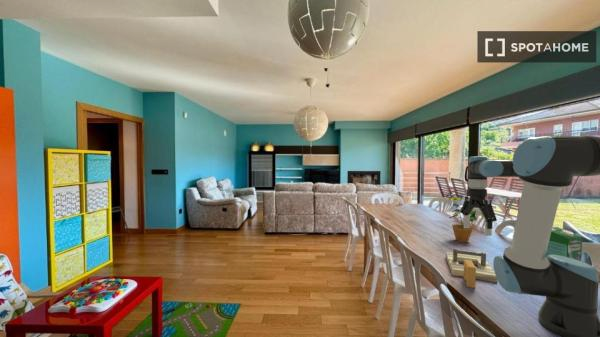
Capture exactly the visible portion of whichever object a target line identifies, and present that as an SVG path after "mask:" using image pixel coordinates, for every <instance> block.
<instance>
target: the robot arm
mask: <svg viewBox="0 0 600 337" xmlns="http://www.w3.org/2000/svg"><path fill="white" fill-rule="evenodd" d="M515 148H516V149H515V151H514V153H513V156H512V159H504V160H503V159H488V157H487V156H484V155H483V156H479V155H476V156H469V158H468V163H467V165H468V176H467V177H468V179H467V186H468V188H467V195H468V196H464V201H463V204H462V207H461V208H460V211H459V213H460V214H462V215H463V218H464V219H463V225H464V228H470V226H471V221H470V216H471V214H470V212H471V211H474V209H475V208H478V210H480V212H481V214H482V215H483V217H484V219H485V221H484V236H485V237H487V236H488V237H491V236H492V234H493V233H492V229H493V224H494V222H497V220H498V219H497V216H496V213H495V211H494V208H493V205H492V200H491V199H486V198H487V196H488V189H487V188H488V178H518V179H519V180H520V181H521V182H522V183H523V186H522V191H521V196H520V200H519V207H518V210H517V216H516V219H515V220H516V221H515V224H514V225H515V226H514V230H513V234H512V240H511V244H510V246H507V247H506V248H504V251H503V256H501V255H497V256H495V257H494V258H493V263H492V264H493V271H494V272H495V275H496V278H497V283H498V284H499V285H500V287H501V288H502V289H503V290H505V291H506V292H508V293H514V294H518V295H529V296H539V297H545V300H544V301H543V303H542V306H541V307H540V309H539V310H538V322H539V323H540V324H541V325H542V326H543V327H544V328H545V329H547V330H549V331H551V332H552V333H555V334H557V335H558V336H561V337H600V317H599V315H598V300H599V298H598V297H599V284H600V279H599V278H600V277H599V272H598V270H597V268H596V267H595V266H592V265H590V264H589V263H587V262H584V261H582V260H581V261H578V260H575V259H572V258H568V257H564V256H559V255H548V256H547V257H545V255H546V251H547V247H548V243H549V239H550V235H551V231H552V227H554V222H555V219H556V215H557V211H558V207H559V203H560V199H561V197H562V196H561V195H562V191H563V190H564V189H567V188H569V187H571V186H572V182H573V180H574V177H595V176H599V175H600V136H596V135H579V136H578V135H577V136H576V135H574V136H573V135H572V136H571V135H570V136H569V135H568V136H565V135H563V136H562V135H561V136H559V135H558V136H555V135H554V136H549V135H547V136H546V135H543V136H538V137H537V136H536V137H533V136H532V137H529V138H526V139H524V140H523V141H522V142H520V144H518V146H517V147H515Z"/></svg>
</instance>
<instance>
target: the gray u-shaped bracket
mask: <svg viewBox="0 0 600 337" xmlns="http://www.w3.org/2000/svg"><path fill="white" fill-rule="evenodd" d="M452 253H453V261H456V262H457V254H463V255H471V256H479V257H481V265H484V266H486V261H487V253H486V252H481V251H473V250H464V249H458V248H453V249H452Z"/></svg>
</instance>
